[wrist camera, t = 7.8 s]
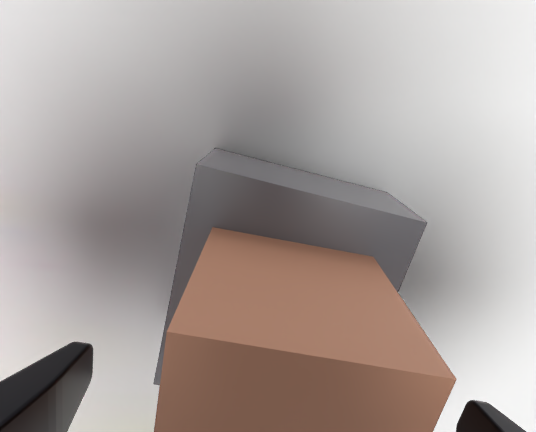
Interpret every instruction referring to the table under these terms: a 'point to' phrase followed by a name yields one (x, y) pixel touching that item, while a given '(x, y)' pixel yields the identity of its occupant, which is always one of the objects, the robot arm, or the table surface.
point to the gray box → (291, 217)
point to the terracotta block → (295, 345)
